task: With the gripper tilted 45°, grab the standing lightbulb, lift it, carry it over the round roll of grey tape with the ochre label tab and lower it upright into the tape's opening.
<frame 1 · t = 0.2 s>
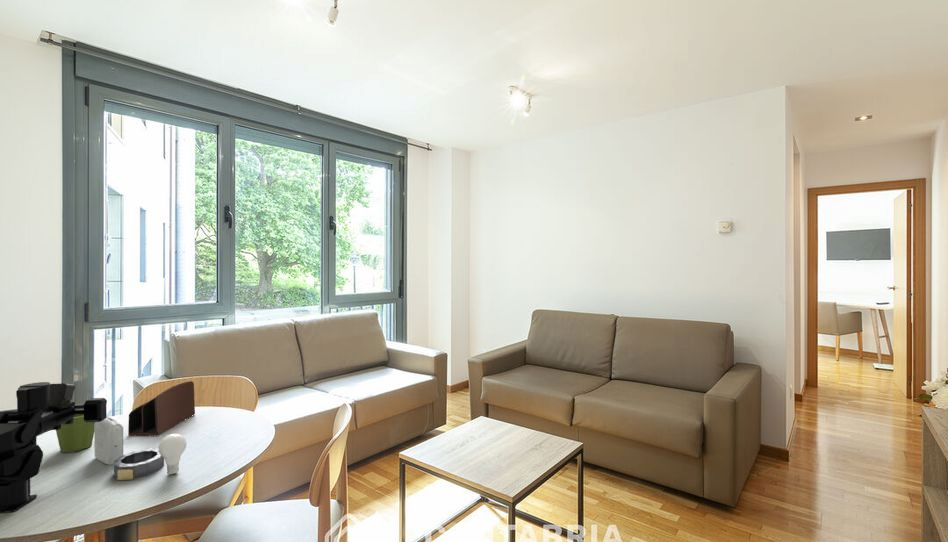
hand: (89, 401, 128), 17 cm above the table, tool horizontal, fingers open, 9 cm apart
roll of grey tape: (139, 469, 121), on the table
letter holder: (163, 425, 154), on the table
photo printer: (109, 460, 127), on the table
plant pot: (77, 448, 135), on the table
lightbulb: (173, 474, 119), on the table
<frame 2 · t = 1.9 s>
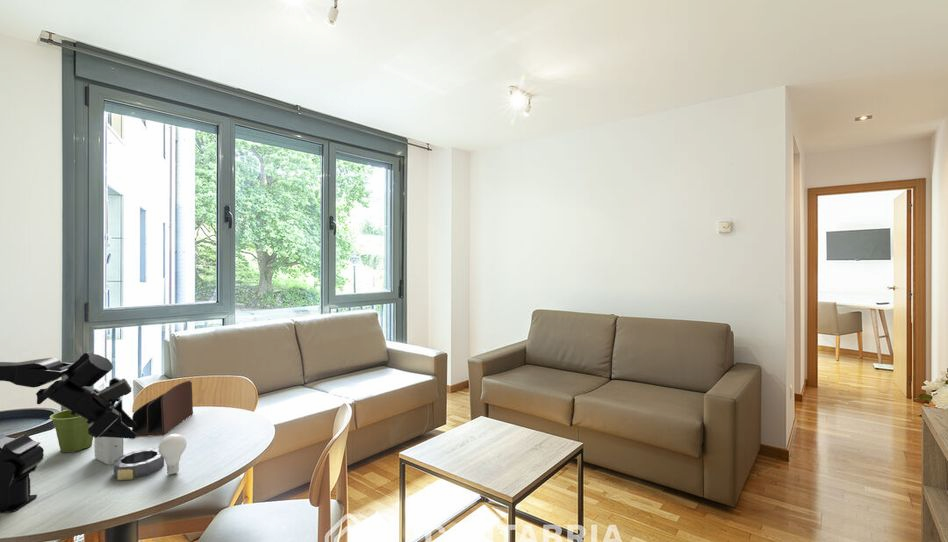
hand: (135, 431, 114), 14 cm above the table, tool tilted 45°, fingers open, 9 cm apart
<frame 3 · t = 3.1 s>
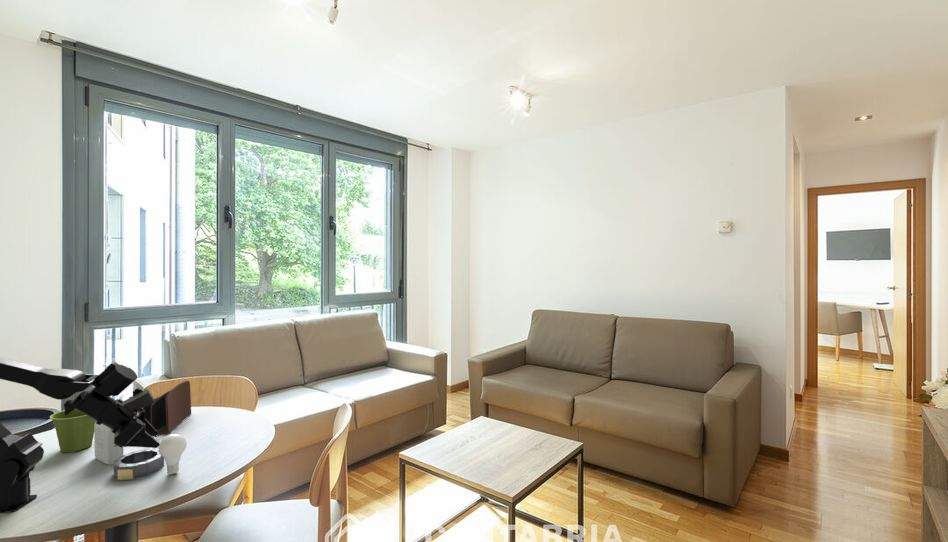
hand: (157, 440, 117), 10 cm above the table, tool tilted 45°, fingers open, 9 cm apart
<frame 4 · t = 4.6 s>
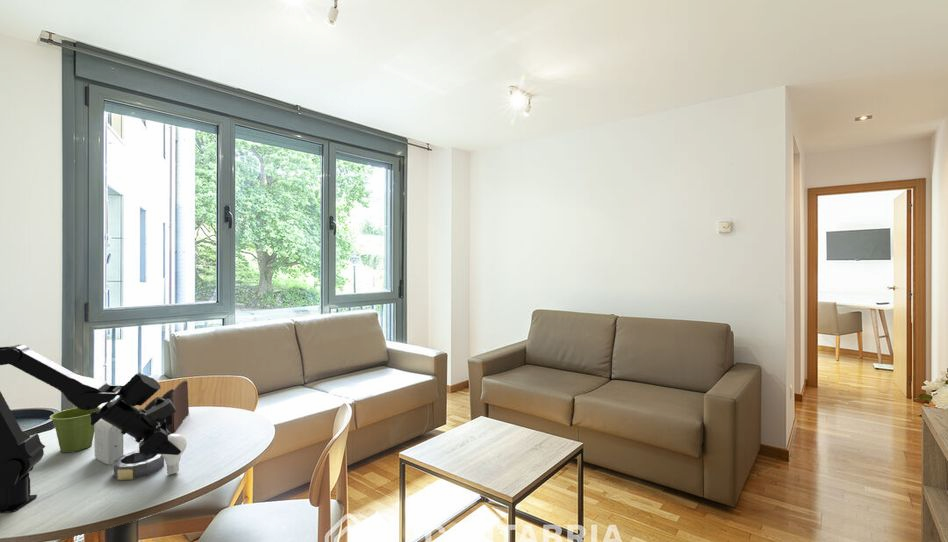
hand: (178, 448, 120), 7 cm above the table, tool tilted 45°, fingers closed on lightbulb, 6 cm apart
lightbulb: (173, 474, 119), on the table, touching gripper
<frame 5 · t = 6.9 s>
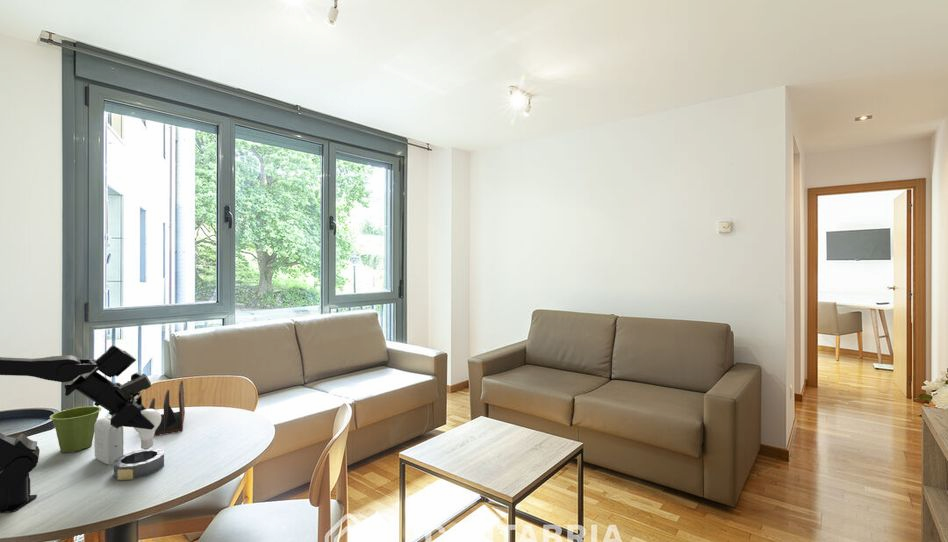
hand: (153, 424, 121), 13 cm above the table, tool tilted 45°, fingers closed on lightbulb, 6 cm apart
lightbulb: (146, 449, 120), point 6 cm above the table, touching gripper
when the fingers open (8 cm above the table, at t = 9.0 s): lightbulb drops 1 cm, resting in roll of grey tape.
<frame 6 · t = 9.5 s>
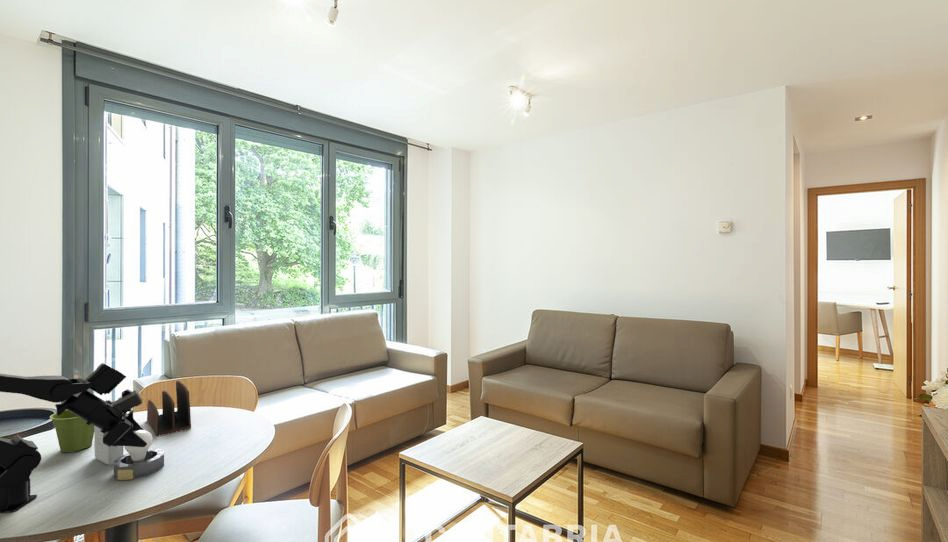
hand: (145, 439, 122), 8 cm above the table, tool tilted 45°, fingers open, 9 cm apart
lightbulb: (138, 470, 121), resting in roll of grey tape
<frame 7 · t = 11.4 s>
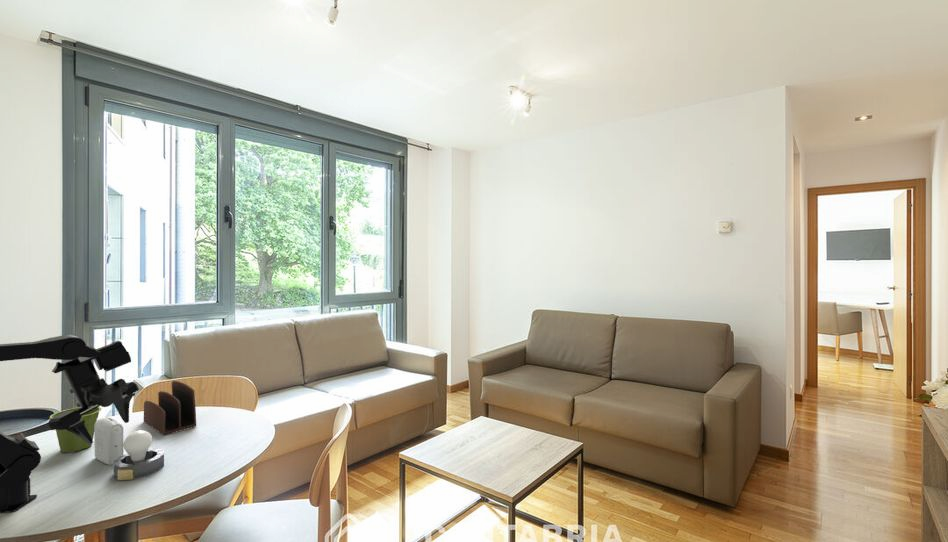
hand: (109, 432, 117), 12 cm above the table, tool tilted 20°, fingers open, 9 cm apart
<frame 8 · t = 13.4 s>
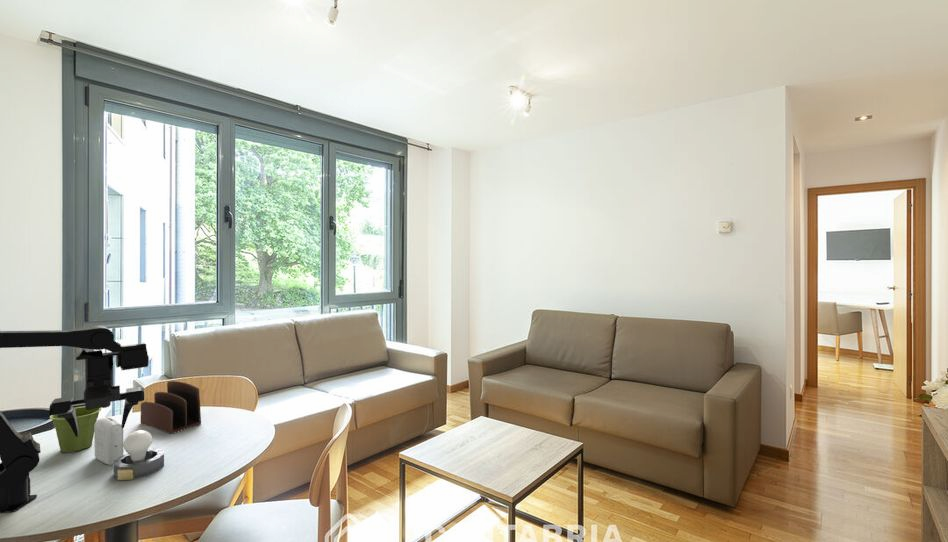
hand: (100, 432, 115), 13 cm above the table, tool pointing down, fingers open, 9 cm apart
at the end: lightbulb 0.2 cm from the roll of grey tape (horizontally); lightbulb tilted 0°; lightbulb resting in roll of grey tape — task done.
